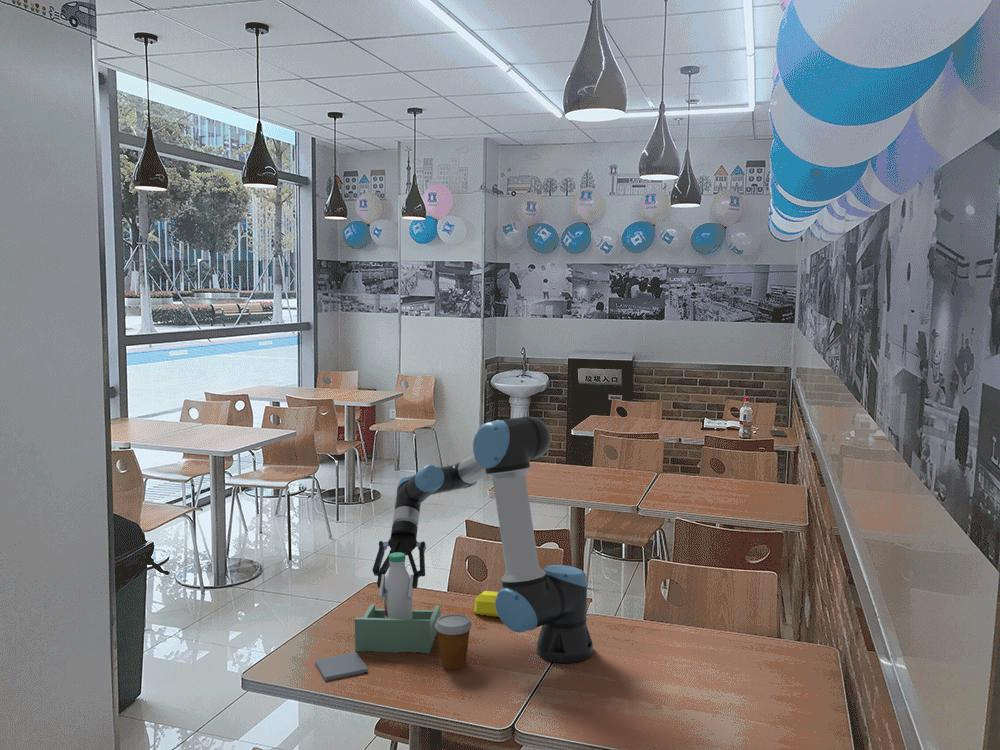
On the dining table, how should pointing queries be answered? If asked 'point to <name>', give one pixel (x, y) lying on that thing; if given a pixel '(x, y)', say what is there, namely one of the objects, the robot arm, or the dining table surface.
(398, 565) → the milk bottle
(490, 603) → the yellow faceted block
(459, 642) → the disposable coffee cup
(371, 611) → the green wooden frame
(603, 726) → the dining table surface
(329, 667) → the slate tile
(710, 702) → the dining table surface
